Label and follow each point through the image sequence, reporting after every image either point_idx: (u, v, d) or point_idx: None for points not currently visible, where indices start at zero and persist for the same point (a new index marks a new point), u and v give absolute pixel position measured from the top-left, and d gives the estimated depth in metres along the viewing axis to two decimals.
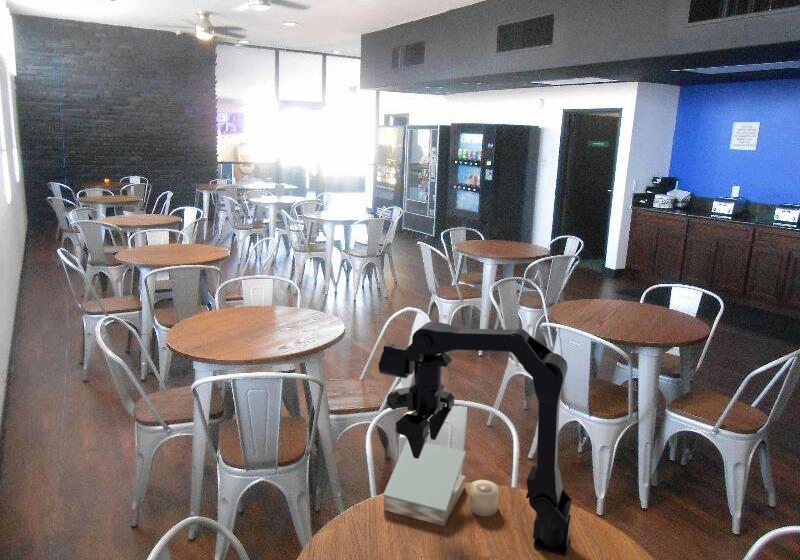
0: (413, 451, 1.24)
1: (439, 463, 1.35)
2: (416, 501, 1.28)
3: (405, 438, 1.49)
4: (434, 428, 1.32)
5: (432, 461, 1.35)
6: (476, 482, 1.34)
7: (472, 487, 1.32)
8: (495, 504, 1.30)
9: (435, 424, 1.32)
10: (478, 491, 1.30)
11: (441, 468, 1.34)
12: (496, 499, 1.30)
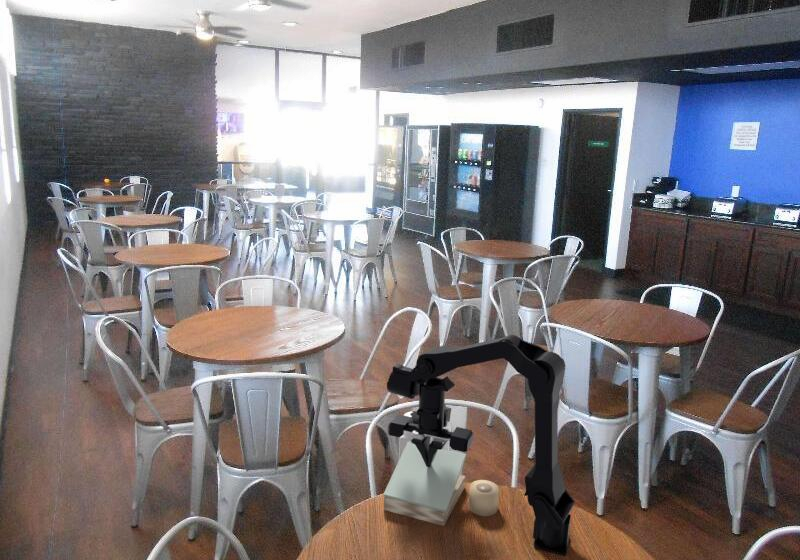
0: None
1: (439, 465, 1.35)
2: (416, 501, 1.28)
3: (405, 438, 1.49)
4: None
5: (432, 463, 1.36)
6: (476, 482, 1.34)
7: (472, 487, 1.32)
8: (495, 504, 1.30)
9: None
10: (478, 491, 1.30)
11: (441, 469, 1.34)
12: (496, 499, 1.30)
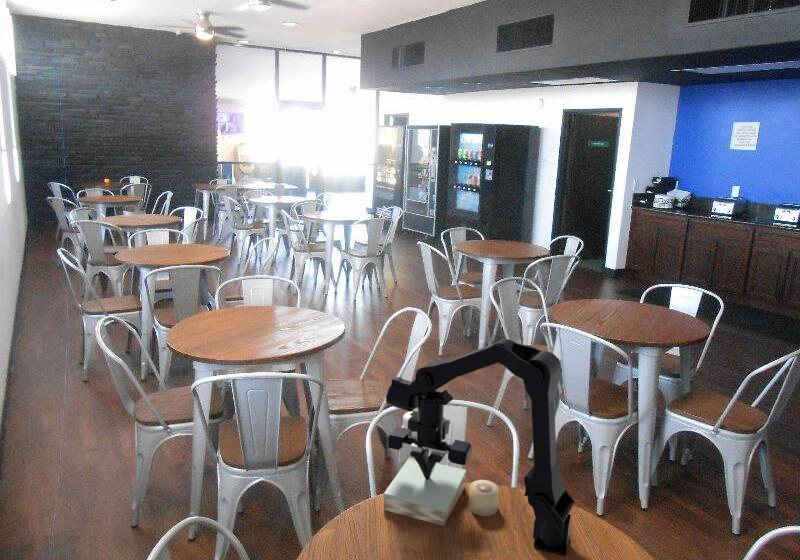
0: None
1: (440, 476, 1.37)
2: (417, 500, 1.28)
3: None
4: None
5: (433, 474, 1.38)
6: (476, 482, 1.34)
7: (472, 487, 1.32)
8: (495, 504, 1.30)
9: None
10: (478, 491, 1.30)
11: (442, 479, 1.36)
12: (496, 499, 1.30)
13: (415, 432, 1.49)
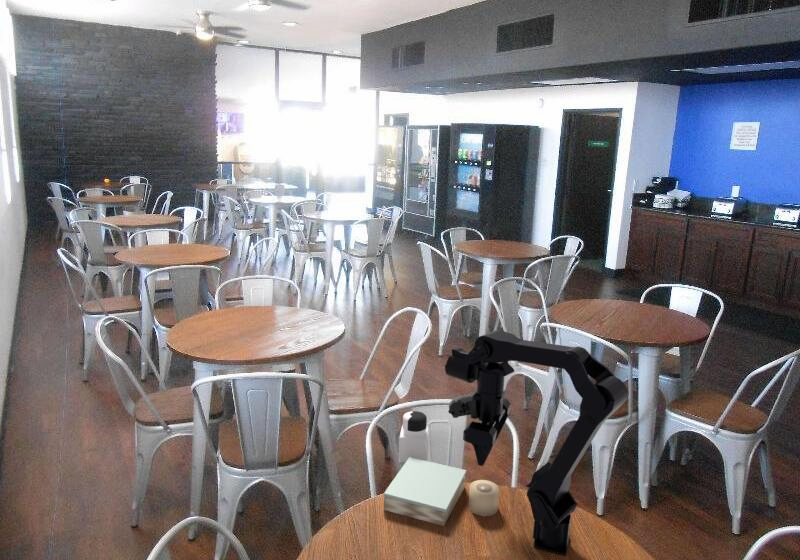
0: (478, 458, 1.25)
1: (440, 476, 1.37)
2: (417, 500, 1.28)
3: (405, 438, 1.49)
4: None
5: (433, 474, 1.38)
6: (476, 482, 1.34)
7: (472, 487, 1.32)
8: (495, 504, 1.30)
9: None
10: (478, 491, 1.30)
11: (442, 479, 1.36)
12: (496, 499, 1.30)
13: (415, 432, 1.49)
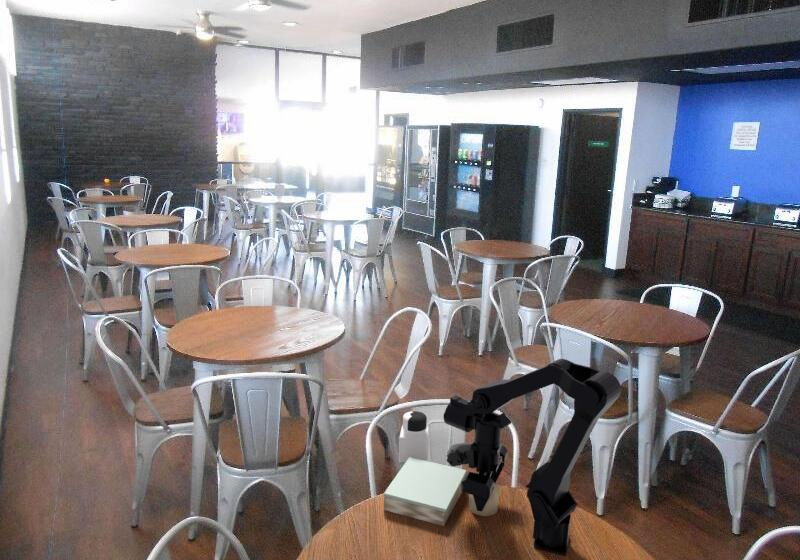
0: (477, 504, 1.29)
1: (440, 476, 1.37)
2: (417, 500, 1.28)
3: (405, 438, 1.49)
4: None
5: (433, 474, 1.38)
6: None
7: None
8: (495, 504, 1.30)
9: None
10: None
11: (442, 479, 1.36)
12: (496, 499, 1.30)
13: (415, 432, 1.49)
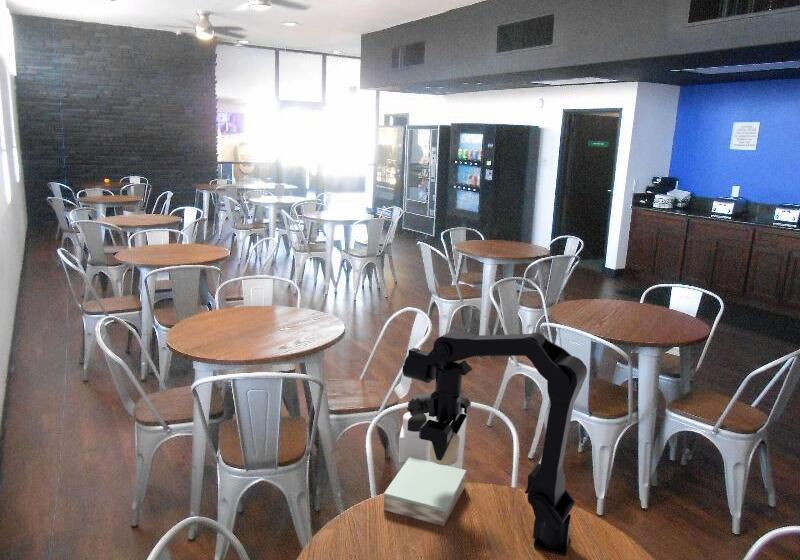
0: (436, 453, 1.29)
1: (440, 476, 1.37)
2: (417, 500, 1.28)
3: (405, 438, 1.49)
4: None
5: (433, 474, 1.38)
6: None
7: None
8: (455, 453, 1.30)
9: None
10: None
11: (442, 479, 1.36)
12: (456, 448, 1.30)
13: (415, 432, 1.49)
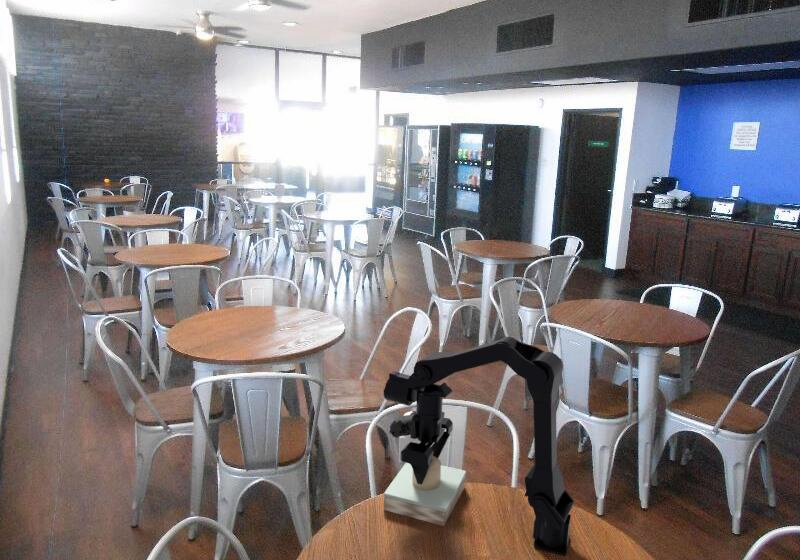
0: (417, 477, 1.29)
1: None
2: (417, 500, 1.28)
3: (405, 438, 1.49)
4: (434, 453, 1.38)
5: None
6: None
7: None
8: (437, 478, 1.32)
9: (435, 449, 1.38)
10: None
11: (442, 480, 1.36)
12: (438, 473, 1.32)
13: None
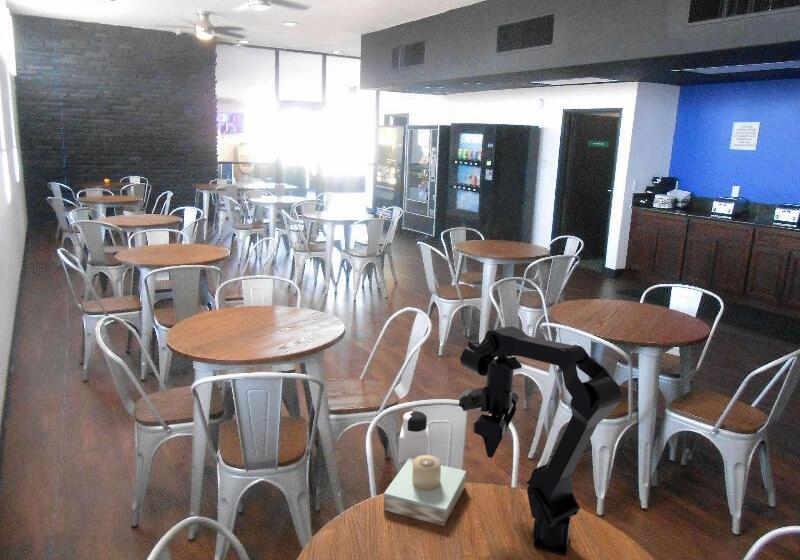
0: (488, 450, 1.28)
1: None
2: (417, 500, 1.28)
3: (405, 438, 1.49)
4: None
5: None
6: (419, 457, 1.36)
7: (415, 462, 1.33)
8: (437, 478, 1.32)
9: None
10: (420, 466, 1.32)
11: (442, 480, 1.36)
12: (438, 473, 1.32)
13: (415, 432, 1.49)
